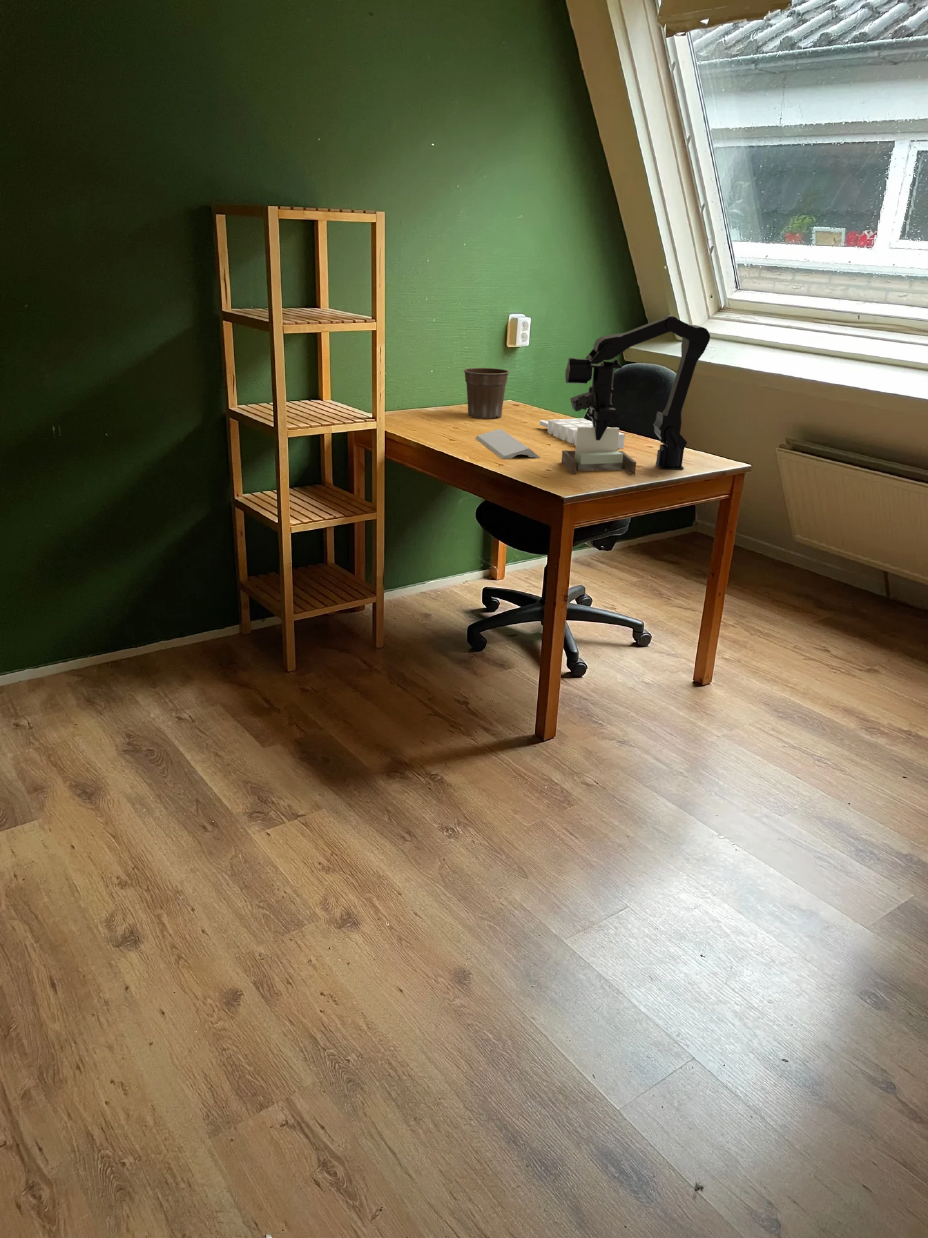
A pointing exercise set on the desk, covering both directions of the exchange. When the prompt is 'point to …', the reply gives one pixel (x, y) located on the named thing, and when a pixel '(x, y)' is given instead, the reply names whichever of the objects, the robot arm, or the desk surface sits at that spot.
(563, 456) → the tray
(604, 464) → the offcut lower
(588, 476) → the desk surface
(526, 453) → the crown molding
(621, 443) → the organizer
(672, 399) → the robot arm
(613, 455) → the offcut upper
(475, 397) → the plant pot
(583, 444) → the sheet
